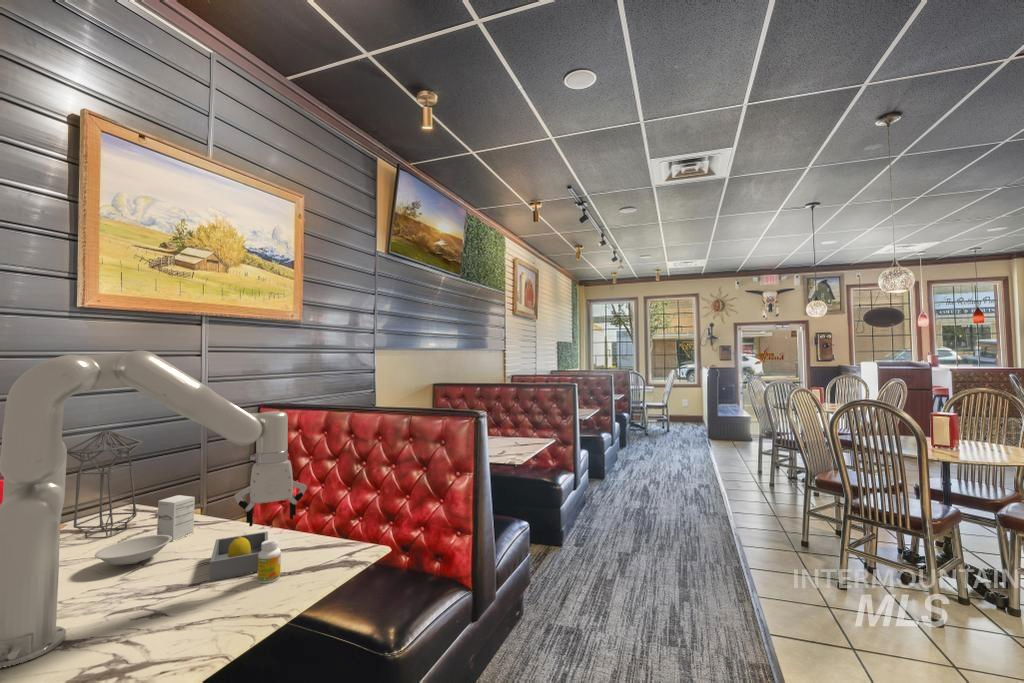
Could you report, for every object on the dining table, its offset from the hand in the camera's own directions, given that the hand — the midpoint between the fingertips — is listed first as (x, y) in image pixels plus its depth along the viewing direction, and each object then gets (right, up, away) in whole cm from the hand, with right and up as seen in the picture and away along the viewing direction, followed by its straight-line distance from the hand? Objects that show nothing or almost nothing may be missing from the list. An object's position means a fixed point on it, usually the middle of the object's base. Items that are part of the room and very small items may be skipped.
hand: (271, 521), depth 122 cm
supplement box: (-47, -17, +29) cm, 58 cm away
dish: (-44, -16, +9) cm, 48 cm away
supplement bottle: (0, -15, -1) cm, 15 cm away
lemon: (-12, -15, +5) cm, 20 cm away
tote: (-14, -16, +9) cm, 22 cm away
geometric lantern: (-74, -17, +31) cm, 82 cm away
